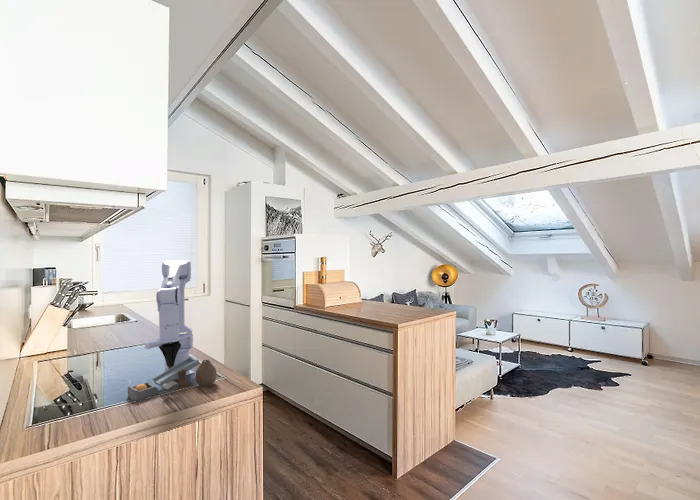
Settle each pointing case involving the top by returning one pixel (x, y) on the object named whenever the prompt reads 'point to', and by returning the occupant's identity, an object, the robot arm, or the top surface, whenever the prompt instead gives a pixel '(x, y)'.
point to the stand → (181, 379)
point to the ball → (141, 387)
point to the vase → (206, 374)
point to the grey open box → (142, 392)
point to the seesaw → (174, 374)
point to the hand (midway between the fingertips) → (170, 366)
